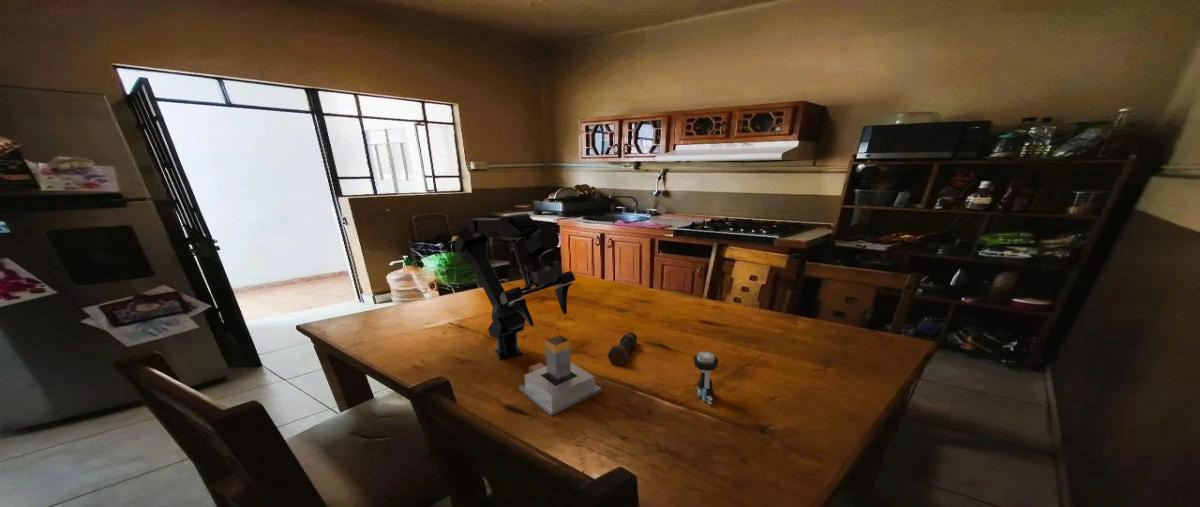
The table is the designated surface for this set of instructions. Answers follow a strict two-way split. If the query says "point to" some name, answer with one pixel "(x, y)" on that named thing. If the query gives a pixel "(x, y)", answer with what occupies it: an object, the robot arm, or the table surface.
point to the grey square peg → (558, 359)
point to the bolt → (622, 349)
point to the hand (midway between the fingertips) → (549, 320)
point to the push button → (705, 374)
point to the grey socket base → (558, 388)
